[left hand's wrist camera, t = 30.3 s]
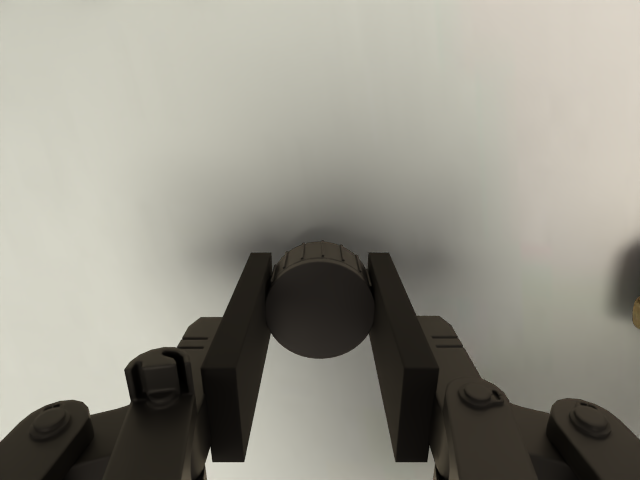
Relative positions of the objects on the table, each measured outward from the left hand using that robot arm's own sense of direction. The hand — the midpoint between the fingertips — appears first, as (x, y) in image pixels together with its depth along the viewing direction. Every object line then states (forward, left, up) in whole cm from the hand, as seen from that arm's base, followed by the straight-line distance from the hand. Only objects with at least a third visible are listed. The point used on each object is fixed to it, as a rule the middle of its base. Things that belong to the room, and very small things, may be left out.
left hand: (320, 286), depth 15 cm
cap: (0, 0, +2) cm, 2 cm away
